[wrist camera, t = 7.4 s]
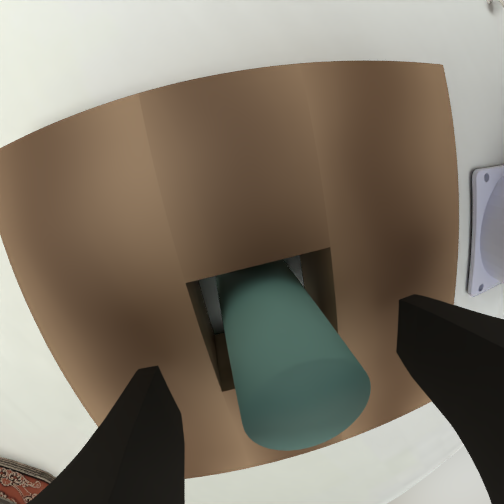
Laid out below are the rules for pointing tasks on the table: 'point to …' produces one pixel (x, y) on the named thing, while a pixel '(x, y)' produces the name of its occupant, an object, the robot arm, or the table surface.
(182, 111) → the socket block
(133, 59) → the table surface
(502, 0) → the origami figure
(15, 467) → the lighter
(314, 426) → the peg
